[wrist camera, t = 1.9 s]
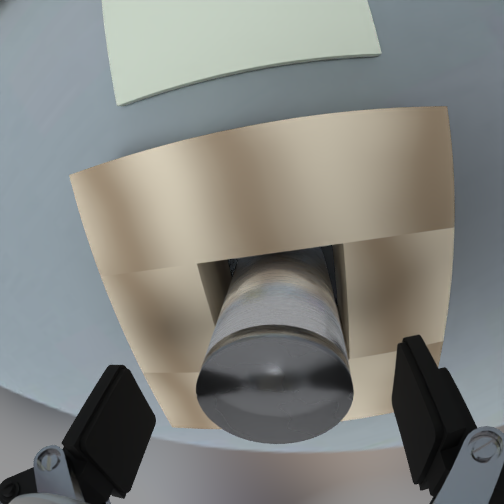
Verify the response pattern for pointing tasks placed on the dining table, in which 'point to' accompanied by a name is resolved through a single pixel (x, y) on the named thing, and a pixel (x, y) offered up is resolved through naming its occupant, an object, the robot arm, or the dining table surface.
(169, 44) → the mat
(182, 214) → the bore block
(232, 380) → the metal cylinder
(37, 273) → the dining table surface
